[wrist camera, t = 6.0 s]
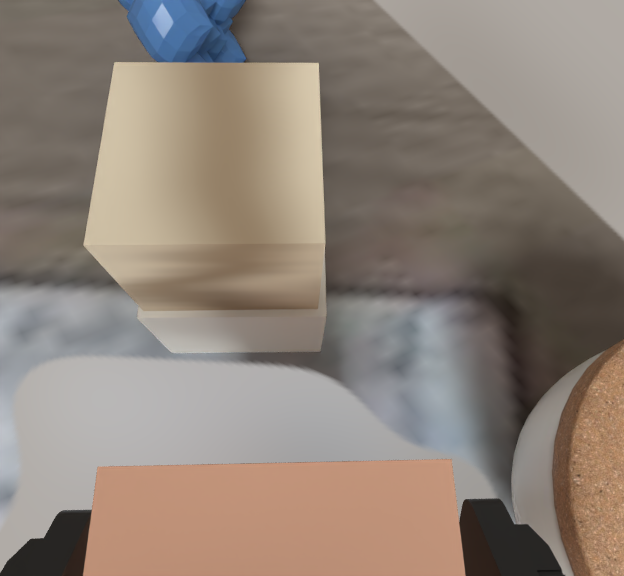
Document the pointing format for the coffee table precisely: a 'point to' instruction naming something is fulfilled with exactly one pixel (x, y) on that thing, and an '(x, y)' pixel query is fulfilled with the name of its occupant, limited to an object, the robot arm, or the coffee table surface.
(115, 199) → the tower top block
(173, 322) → the tower base block
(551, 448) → the lidded jar
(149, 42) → the grapes
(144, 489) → the terracotta pillar
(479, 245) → the coffee table surface
